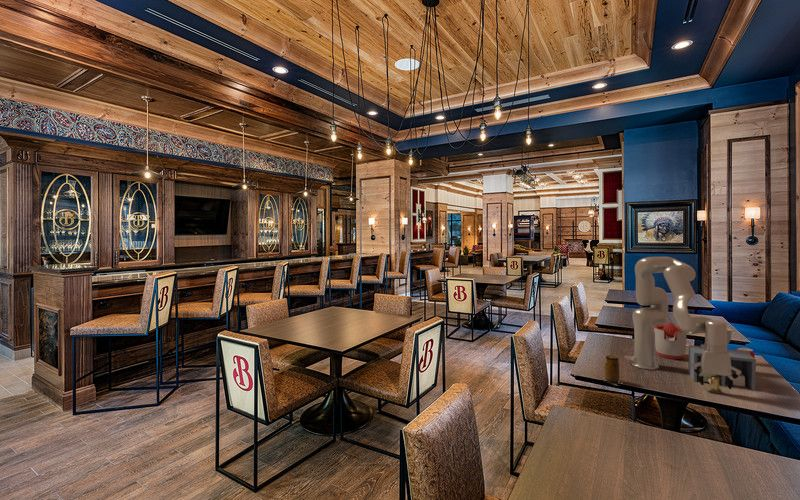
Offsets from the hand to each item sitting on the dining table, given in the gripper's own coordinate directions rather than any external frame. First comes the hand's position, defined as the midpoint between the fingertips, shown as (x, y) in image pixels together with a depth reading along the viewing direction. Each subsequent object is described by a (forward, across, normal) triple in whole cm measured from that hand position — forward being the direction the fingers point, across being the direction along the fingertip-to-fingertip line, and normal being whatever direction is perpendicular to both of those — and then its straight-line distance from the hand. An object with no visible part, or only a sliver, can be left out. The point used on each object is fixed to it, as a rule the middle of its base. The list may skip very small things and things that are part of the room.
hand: (715, 386), depth 167 cm
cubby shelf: (+3, +5, +18) cm, 19 cm away
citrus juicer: (+3, -11, +50) cm, 51 cm away
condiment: (+3, -40, -6) cm, 40 cm away
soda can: (+3, +19, +38) cm, 43 cm away
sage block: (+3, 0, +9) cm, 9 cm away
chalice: (+3, +14, +55) cm, 57 cm away
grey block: (+3, +10, +17) cm, 20 cm away
